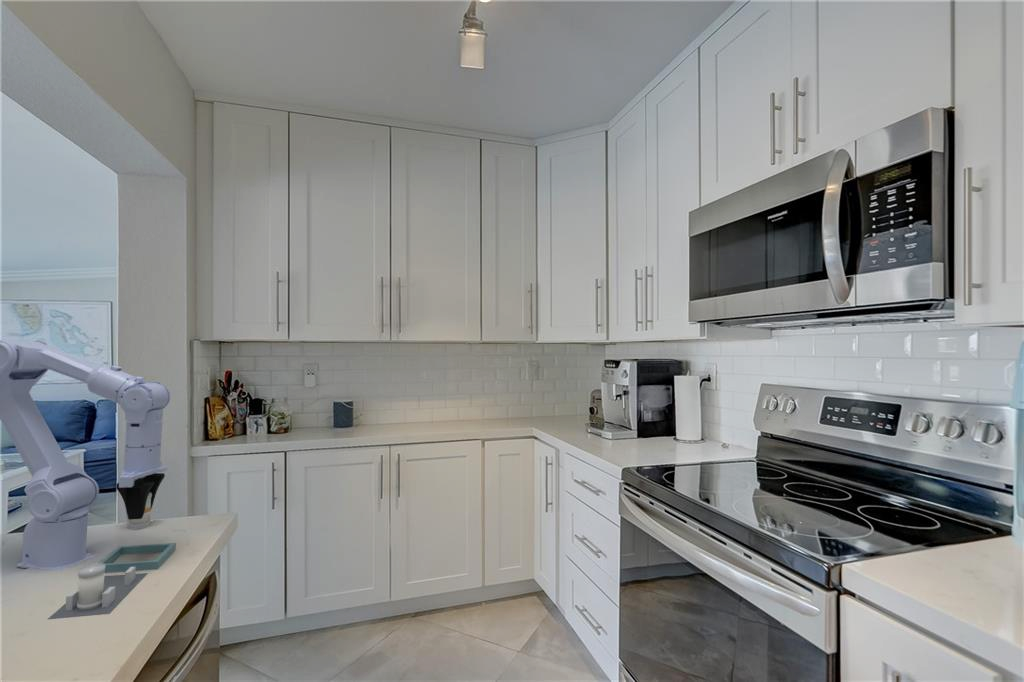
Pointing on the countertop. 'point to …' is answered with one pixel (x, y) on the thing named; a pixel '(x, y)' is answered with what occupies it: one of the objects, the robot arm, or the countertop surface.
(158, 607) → the countertop surface
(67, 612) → the fuse board
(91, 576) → the cylinder
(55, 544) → the robot arm
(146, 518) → the marked fuse
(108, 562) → the tray
